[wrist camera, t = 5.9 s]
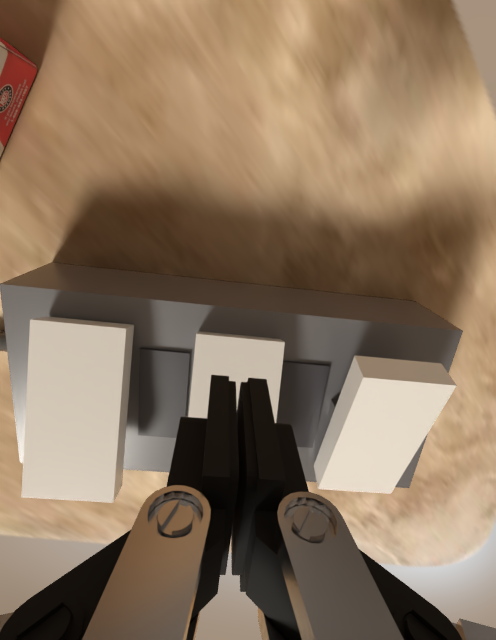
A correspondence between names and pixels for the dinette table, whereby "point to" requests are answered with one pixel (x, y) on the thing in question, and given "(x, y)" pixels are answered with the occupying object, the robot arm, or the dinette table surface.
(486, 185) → the dinette table surface
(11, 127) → the ink box
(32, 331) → the block
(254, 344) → the rocker middle
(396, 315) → the grey long block
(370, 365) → the rocker
